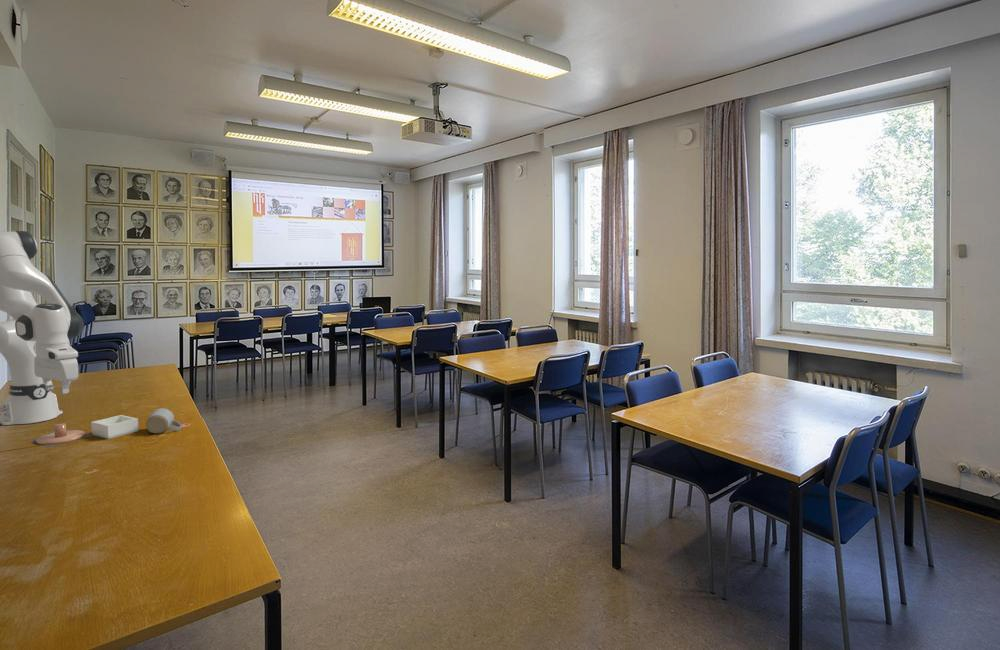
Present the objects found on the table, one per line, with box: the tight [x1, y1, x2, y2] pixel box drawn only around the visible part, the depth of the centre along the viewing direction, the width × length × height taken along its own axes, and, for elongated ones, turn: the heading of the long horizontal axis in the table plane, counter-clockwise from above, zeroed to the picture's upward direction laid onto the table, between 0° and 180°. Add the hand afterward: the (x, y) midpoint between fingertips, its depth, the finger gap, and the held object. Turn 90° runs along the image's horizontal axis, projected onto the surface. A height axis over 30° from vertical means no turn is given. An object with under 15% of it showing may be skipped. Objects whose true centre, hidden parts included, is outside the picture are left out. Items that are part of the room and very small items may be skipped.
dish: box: [90, 414, 140, 440], centre depth 190 cm, size 10×10×5 cm
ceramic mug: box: [145, 407, 183, 435], centre depth 194 cm, size 11×8×8 cm
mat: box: [28, 433, 93, 448], centre depth 184 cm, size 13×13×1 cm
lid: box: [35, 422, 86, 445], centre depth 183 cm, size 13×13×5 cm
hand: (57, 391), depth 182 cm, fingers open, 8 cm apart
